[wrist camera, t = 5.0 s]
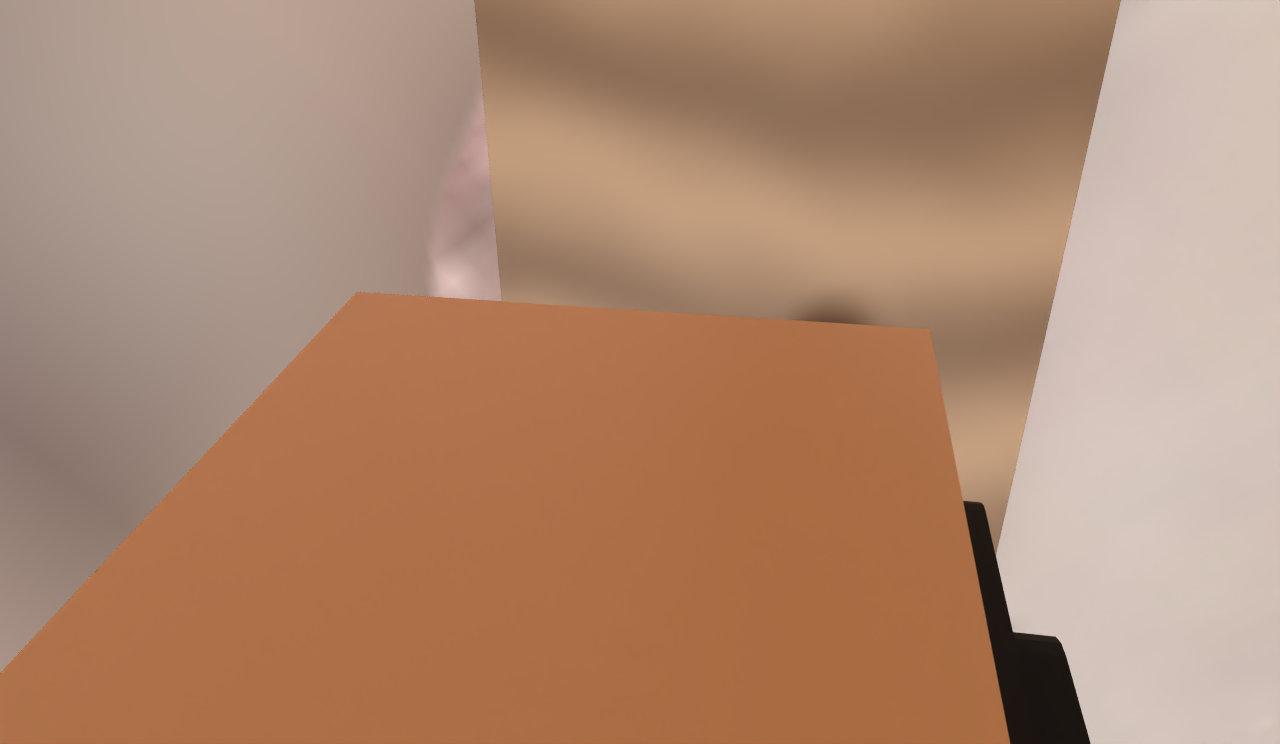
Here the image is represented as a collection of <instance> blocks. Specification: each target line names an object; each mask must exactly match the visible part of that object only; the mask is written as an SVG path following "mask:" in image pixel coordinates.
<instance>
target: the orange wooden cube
mask: <svg viewBox="0 0 1280 744" xmlns="http://www.w3.org/2000/svg"><path fill="white" fill-rule="evenodd" d="M0 744H1010V740H1009V735H1008V730H1007V724H1006V719H1005V714H1004V709H1003V704H1002V699H1001V694H1000V689H999V683H998V678H997V673H996V668H995V663H994V658H993V653H992V647H991V642H990V637H989V632H988V627H987V622H986V617H985V611H984V606H983V601H982V596H981V591H980V586H979V581H978V575H977V570H976V565H975V560H974V555H973V550H972V545H971V540H970V534H969V529H968V524H967V519H966V514H965V509H964V504H963V498H962V493H961V488H960V483H959V478H958V473H957V468H956V462H955V457H954V452H953V447H952V442H951V437H950V432H949V426H948V421H947V416H946V411H945V406H944V401H943V396H942V390H941V385H940V380H939V375H938V370H937V365H936V360H935V355H934V349H933V344H932V339H931V334H930V329H921V328H905V327H890V326H874V325H859V324H843V323H828V322H813V321H797V320H782V319H766V318H751V317H735V316H720V315H704V314H689V313H673V312H658V311H642V310H627V309H611V308H596V307H581V306H565V305H550V304H534V303H519V302H503V301H488V300H472V299H457V298H441V297H426V296H410V295H395V294H379V293H364V292H356V293H355V294H354V296H353V297H352V298H351V299H350V300H349V301H348V302H347V303H346V304H345V305H344V306H343V307H342V308H341V309H340V311H339V312H338V313H337V314H336V315H335V316H334V317H333V318H332V319H331V320H330V321H329V322H328V323H327V324H326V326H325V327H324V328H323V329H322V330H321V331H320V332H319V333H318V334H317V335H316V336H315V337H314V338H313V339H312V340H311V342H310V343H309V344H308V345H307V346H306V347H305V348H304V349H303V350H302V351H301V352H300V353H299V354H298V355H297V356H296V358H295V359H294V360H293V361H292V362H291V363H290V364H289V365H288V366H287V367H286V368H285V369H284V370H283V372H282V373H281V374H280V375H279V376H278V377H277V378H276V379H275V380H274V381H273V382H272V383H271V384H270V385H269V386H268V387H267V389H266V390H265V391H264V392H263V393H262V394H261V395H260V396H259V397H258V398H257V399H256V400H255V402H253V404H252V405H251V406H250V407H249V408H248V409H247V410H246V411H245V412H244V413H243V414H242V415H241V416H240V417H239V418H238V420H237V421H236V422H235V423H234V424H233V425H232V426H231V427H230V428H229V429H228V430H227V431H226V432H225V434H224V435H223V436H222V437H221V438H220V439H219V440H218V441H217V442H216V443H215V444H214V445H213V446H212V448H210V450H209V451H208V452H207V453H206V454H205V455H204V456H203V457H202V458H201V459H200V460H199V461H198V462H197V463H196V464H195V466H194V467H193V468H192V469H191V470H190V471H189V472H188V473H187V474H186V475H185V476H184V477H183V478H182V479H181V480H180V482H179V483H178V484H177V485H176V486H175V487H174V488H173V489H172V490H171V491H170V492H169V493H168V494H167V495H166V497H165V498H164V499H163V500H162V501H161V502H160V503H159V504H158V505H157V506H156V507H155V508H154V509H153V510H152V511H151V513H150V514H149V515H148V516H147V517H146V518H145V519H144V520H143V521H142V522H141V523H140V524H139V526H137V528H136V529H135V530H134V531H133V532H132V533H131V534H130V535H129V536H128V537H127V538H126V539H125V540H124V542H123V543H122V544H121V545H120V546H119V547H118V548H117V549H116V550H115V551H114V552H113V553H112V554H111V555H110V556H109V558H108V559H107V560H106V561H105V562H104V563H103V564H102V565H101V566H100V567H99V568H98V569H97V570H96V571H95V573H94V574H93V575H92V576H91V577H90V578H89V579H88V580H87V581H86V582H85V583H84V584H83V585H82V586H81V587H80V588H79V590H78V591H77V592H76V593H75V594H74V595H73V596H72V597H71V598H70V599H69V600H68V601H67V603H66V604H65V605H64V606H63V607H62V608H61V609H60V610H59V611H58V612H57V613H56V614H55V615H54V616H53V617H52V618H51V619H50V621H49V622H48V623H47V624H46V625H45V626H44V627H43V628H42V629H41V630H40V631H39V632H38V633H37V634H36V636H35V637H34V638H33V639H32V640H31V641H30V642H29V643H28V644H27V645H26V646H25V647H24V648H23V650H21V652H20V653H19V654H18V655H17V656H16V657H15V658H14V659H13V660H12V661H11V662H10V663H9V664H8V665H7V667H6V668H5V669H4V670H3V671H2V672H1V673H0Z"/></svg>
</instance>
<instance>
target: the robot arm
mask: <svg viewBox="0 0 1280 744" xmlns="http://www.w3.org/2000/svg"><path fill="white" fill-rule="evenodd" d="M963 504H964V509H965V514H966V519H967V524H968V529H969V534H970V540H971V545H972V550H973V555H974V560H975V565H976V570H977V575H978V581H979V586H980V591H981V596H982V601H983V606H984V611H985V617H986V622H987V627H988V632H989V637H990V642H991V647H992V653H993V658H994V663H995V668H996V673H997V678H998V683H999V689H1000V694H1001V699H1002V704H1003V709H1004V714H1005V719H1006V724H1007V730H1008V735H1009V740H1010V744H1090V740H1089V737H1088V733H1087V729H1086V726H1085V722H1084V719H1083V715H1082V712H1081V708H1080V704H1079V701H1078V697H1077V694H1076V690H1075V687H1074V683H1073V679H1072V676H1071V672H1070V669H1069V665H1068V662H1067V658H1066V655H1065V652H1064V650H1063V647H1062V644H1061V643H1060V641H1059V640H1058V639H1057V638H1056V637H1053V636H1043V635H1034V634H1025V633H1016V632H1013V631H1012V626H1011V622H1010V617H1009V613H1008V608H1007V604H1006V599H1005V595H1004V591H1003V586H1002V582H1001V577H1000V573H999V568H998V564H997V559H996V555H995V550H994V546H993V542H992V537H991V533H990V528H989V524H988V519H987V515H986V511H985V508H984V505H983V504H982V503H981V502H972V501H963Z"/></svg>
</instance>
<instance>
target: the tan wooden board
mask: <svg viewBox="0 0 1280 744" xmlns="http://www.w3.org/2000/svg"><path fill="white" fill-rule="evenodd" d="M474 1H475V12H476V23H477V34H478V45H479V56H480V67H481V78H482V89H483V100H484V111H485V122H486V133H487V144H488V155H489V166H490V177H491V188H492V199H493V210H494V221H495V232H496V243H497V254H498V265H499V276H500V287H501V298H502V301H503V302H519V303H534V304H550V305H565V306H581V307H596V308H611V309H627V310H642V311H658V312H673V313H689V314H704V315H720V316H735V317H751V318H766V319H782V320H797V321H813V322H828V323H843V324H859V325H874V326H890V327H905V328H921V329H930V334H931V339H932V344H933V349H934V355H935V360H936V365H937V370H938V375H939V380H940V385H941V390H942V396H943V401H944V406H945V411H946V416H947V421H948V426H949V432H950V437H951V442H952V447H953V452H954V457H955V462H956V468H957V473H958V478H959V483H960V488H961V493H962V498H963V501H972V502H981V503H982V504H983V505H984V508H985V511H986V515H987V519H988V524H989V528H990V533H991V537H992V542H993V546H994V550H995V555H996V552H997V547H998V543H999V539H1000V534H1001V530H1002V525H1003V521H1004V516H1005V512H1006V507H1007V503H1008V499H1009V494H1010V490H1011V485H1012V481H1013V476H1014V472H1015V468H1016V463H1017V459H1018V454H1019V450H1020V445H1021V441H1022V436H1023V432H1024V428H1025V423H1026V419H1027V414H1028V410H1029V405H1030V401H1031V396H1032V392H1033V388H1034V383H1035V379H1036V374H1037V370H1038V365H1039V361H1040V357H1041V352H1042V348H1043V343H1044V339H1045V334H1046V330H1047V325H1048V321H1049V317H1050V312H1051V308H1052V303H1053V299H1054V294H1055V290H1056V285H1057V281H1058V277H1059V272H1060V268H1061V263H1062V259H1063V254H1064V250H1065V246H1066V241H1067V237H1068V232H1069V228H1070V223H1071V219H1072V214H1073V210H1074V206H1075V201H1076V197H1077V192H1078V188H1079V183H1080V179H1081V175H1082V170H1083V166H1084V161H1085V157H1086V152H1087V148H1088V143H1089V139H1090V135H1091V130H1092V126H1093V121H1094V117H1095V112H1096V108H1097V103H1098V99H1099V95H1100V90H1101V86H1102V81H1103V77H1104V72H1105V68H1106V64H1107V59H1108V55H1109V50H1110V46H1111V41H1112V37H1113V32H1114V28H1115V24H1116V19H1117V15H1118V10H1119V6H1120V1H1121V0H474Z"/></svg>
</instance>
